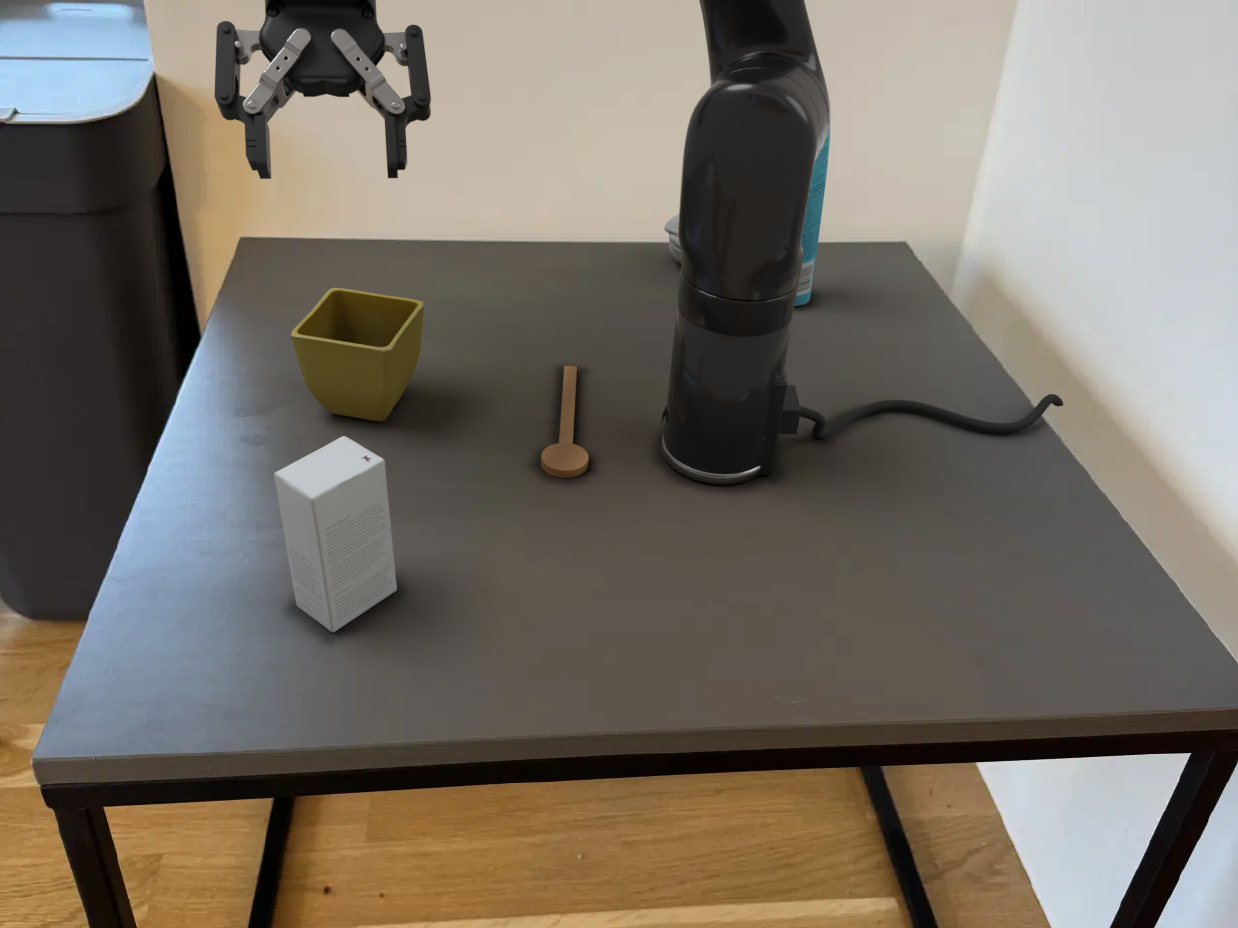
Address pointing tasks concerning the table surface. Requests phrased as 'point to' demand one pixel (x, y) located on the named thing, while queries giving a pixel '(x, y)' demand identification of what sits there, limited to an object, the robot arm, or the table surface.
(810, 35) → the robot arm
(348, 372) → the flower pot
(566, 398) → the wooden spoon
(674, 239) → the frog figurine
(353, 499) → the cosmetic box
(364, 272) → the table surface
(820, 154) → the tube
